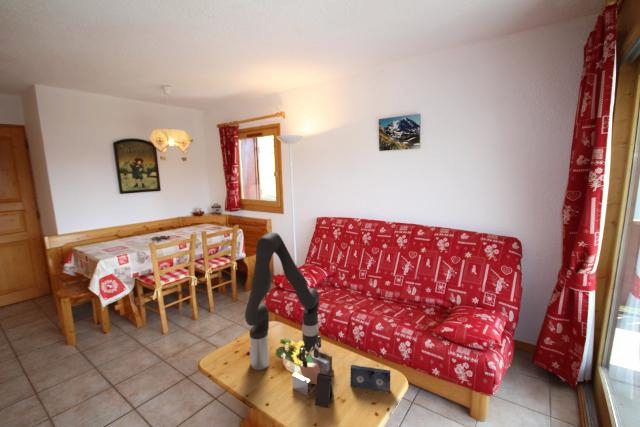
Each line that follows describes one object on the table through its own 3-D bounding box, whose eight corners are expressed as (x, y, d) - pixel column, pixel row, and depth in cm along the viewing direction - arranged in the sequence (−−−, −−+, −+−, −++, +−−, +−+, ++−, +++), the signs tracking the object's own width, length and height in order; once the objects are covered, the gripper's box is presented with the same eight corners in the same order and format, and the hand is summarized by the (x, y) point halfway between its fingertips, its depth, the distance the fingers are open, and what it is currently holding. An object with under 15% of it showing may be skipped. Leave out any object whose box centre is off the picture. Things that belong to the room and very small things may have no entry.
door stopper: (328, 408, 131) (327, 383, 129) (314, 405, 132) (314, 380, 131) (333, 393, 139) (333, 369, 137) (321, 390, 141) (320, 367, 139)
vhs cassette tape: (390, 389, 141) (390, 370, 139) (390, 394, 138) (390, 374, 137) (351, 382, 146) (351, 363, 144) (350, 386, 143) (350, 367, 142)
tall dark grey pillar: (290, 389, 142) (290, 369, 141) (316, 366, 158) (316, 348, 157) (309, 399, 136) (308, 379, 134) (334, 374, 152) (333, 356, 150)
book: (318, 384, 141) (313, 367, 141) (304, 382, 147) (299, 365, 147) (322, 380, 144) (317, 363, 144) (308, 378, 149) (304, 361, 150)
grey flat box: (292, 388, 143) (292, 374, 142) (295, 385, 144) (295, 372, 143) (307, 396, 137) (307, 382, 136) (310, 393, 139) (310, 380, 138)
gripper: (307, 341, 135) (307, 373, 138) (325, 326, 146) (325, 357, 149) (294, 335, 139) (295, 367, 142) (313, 322, 151) (313, 351, 153)
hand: (310, 361), depth 146 cm, fingers open, 8 cm apart
